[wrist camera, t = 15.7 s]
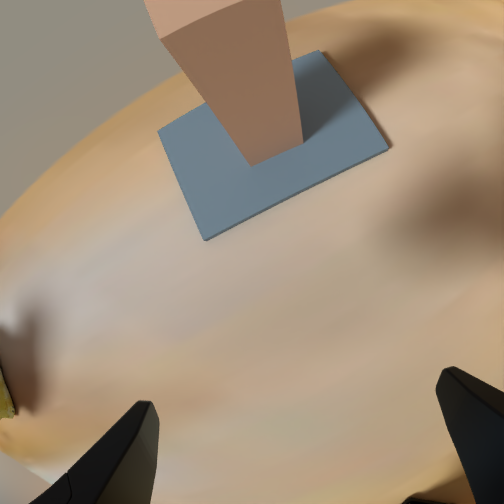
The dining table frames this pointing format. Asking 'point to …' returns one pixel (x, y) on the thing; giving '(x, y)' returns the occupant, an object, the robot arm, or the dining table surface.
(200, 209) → the mat
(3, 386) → the chocolate bunny
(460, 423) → the robot arm
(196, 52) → the block
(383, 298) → the dining table surface
